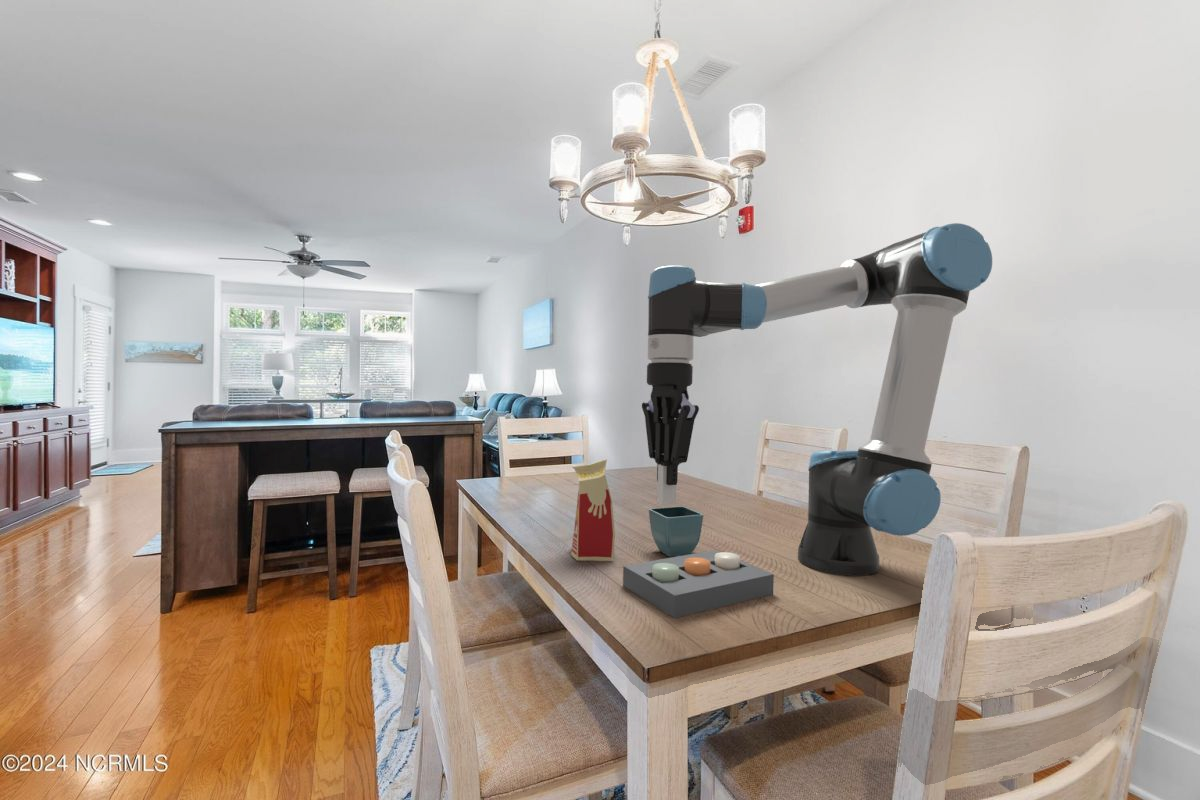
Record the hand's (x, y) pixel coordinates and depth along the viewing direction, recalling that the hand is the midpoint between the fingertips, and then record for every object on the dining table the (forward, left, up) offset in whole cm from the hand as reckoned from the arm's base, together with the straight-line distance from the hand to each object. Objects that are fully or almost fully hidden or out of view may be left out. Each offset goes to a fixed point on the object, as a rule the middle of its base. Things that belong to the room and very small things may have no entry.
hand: (666, 503), depth 90 cm
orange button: (-7, 0, -13) cm, 15 cm away
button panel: (-7, 0, -16) cm, 17 cm away
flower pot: (-16, -18, -16) cm, 29 cm away
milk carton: (0, -25, -16) cm, 30 cm away
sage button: (0, 0, -13) cm, 13 cm away
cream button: (-14, 0, -13) cm, 19 cm away
